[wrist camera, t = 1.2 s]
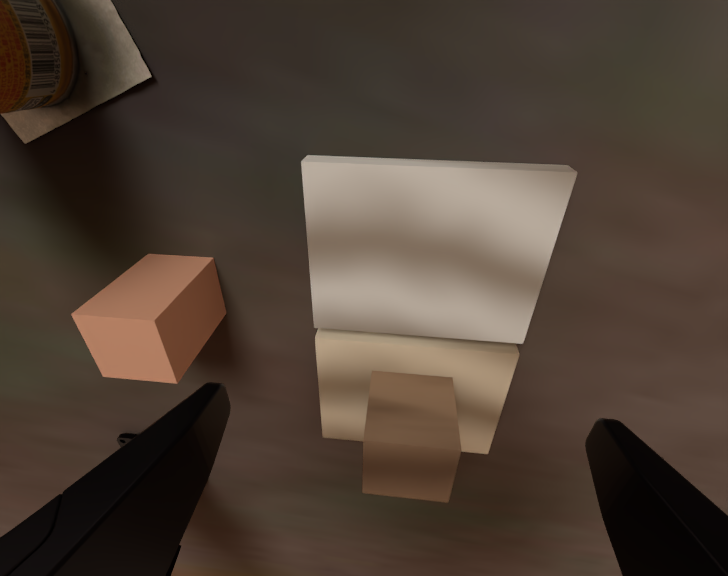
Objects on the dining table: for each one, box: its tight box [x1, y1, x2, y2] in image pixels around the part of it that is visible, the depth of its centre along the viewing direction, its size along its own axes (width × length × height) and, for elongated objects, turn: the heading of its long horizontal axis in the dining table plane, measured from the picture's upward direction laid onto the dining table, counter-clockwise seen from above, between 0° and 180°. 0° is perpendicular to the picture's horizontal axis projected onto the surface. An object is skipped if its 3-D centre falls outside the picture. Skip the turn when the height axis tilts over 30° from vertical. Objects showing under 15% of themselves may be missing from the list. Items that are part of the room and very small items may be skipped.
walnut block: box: [362, 371, 462, 503], centre depth 23 cm, size 5×5×5 cm
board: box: [301, 155, 577, 454], centre depth 22 cm, size 20×12×1 cm, turn 179°
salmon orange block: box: [71, 254, 226, 383], centre depth 20 cm, size 4×4×6 cm
